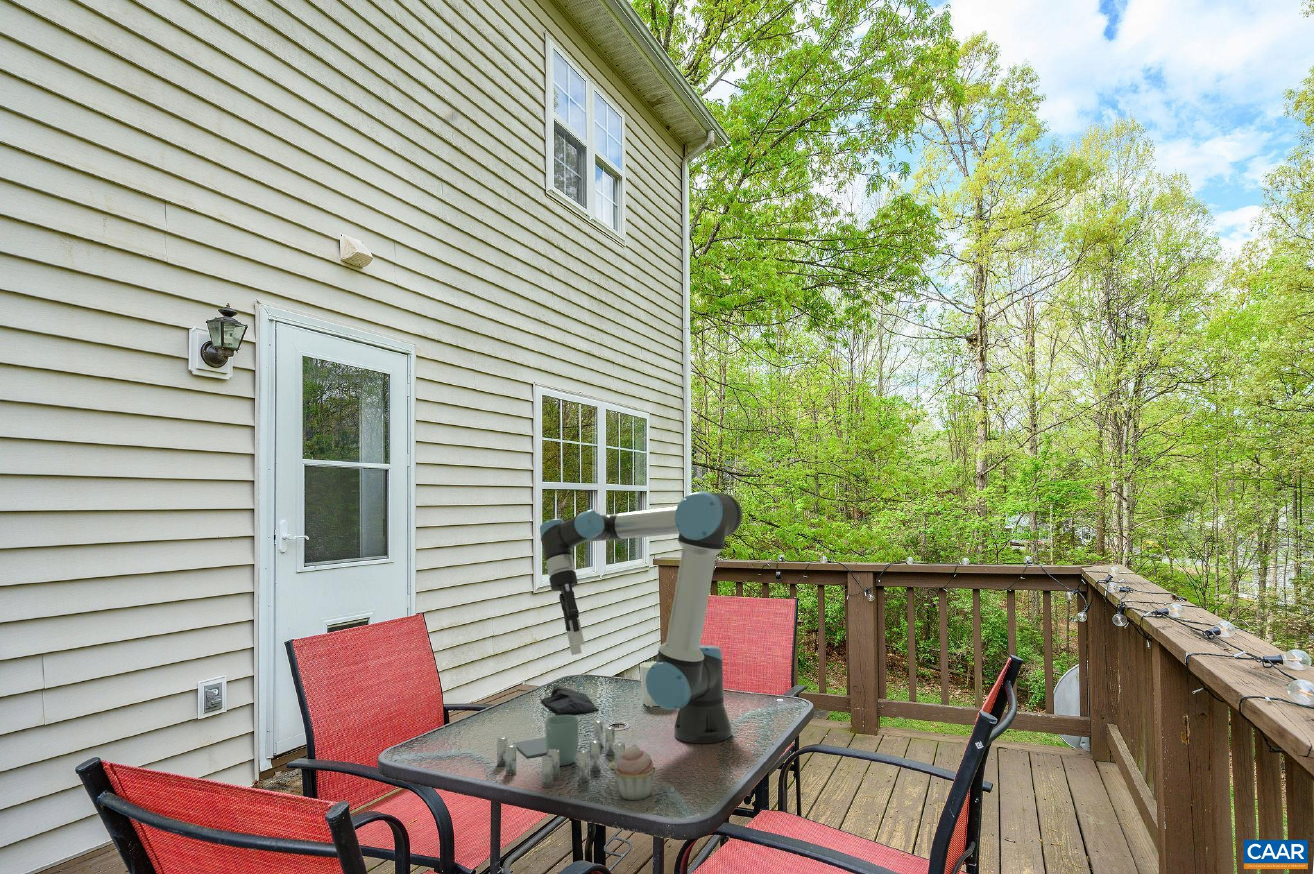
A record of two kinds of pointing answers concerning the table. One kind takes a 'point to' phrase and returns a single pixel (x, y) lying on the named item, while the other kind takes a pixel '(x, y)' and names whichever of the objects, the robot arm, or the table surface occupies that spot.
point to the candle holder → (643, 671)
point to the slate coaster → (532, 747)
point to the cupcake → (635, 774)
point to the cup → (563, 737)
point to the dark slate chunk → (569, 701)
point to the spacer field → (552, 761)
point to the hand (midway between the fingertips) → (577, 649)
